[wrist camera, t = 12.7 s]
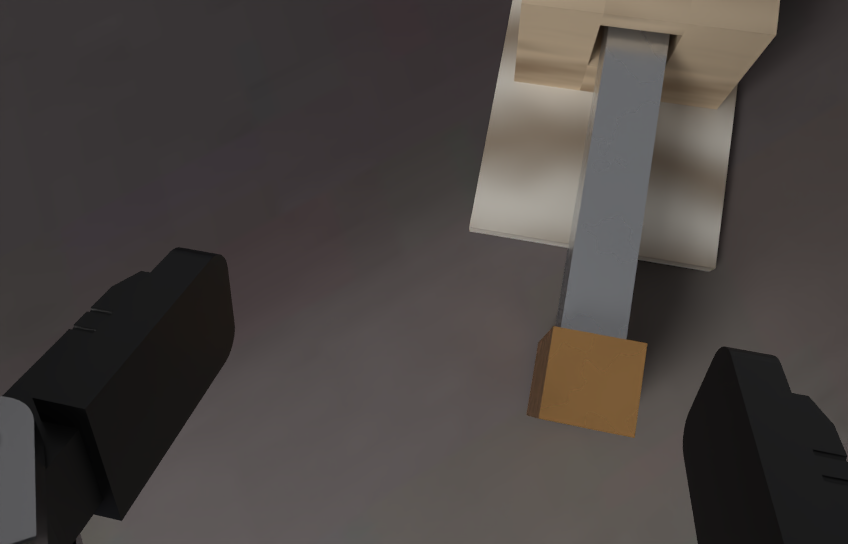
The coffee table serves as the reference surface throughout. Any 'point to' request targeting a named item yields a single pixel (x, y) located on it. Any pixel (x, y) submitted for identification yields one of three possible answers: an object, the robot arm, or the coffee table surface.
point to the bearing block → (656, 12)
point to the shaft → (605, 247)
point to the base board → (562, 158)
